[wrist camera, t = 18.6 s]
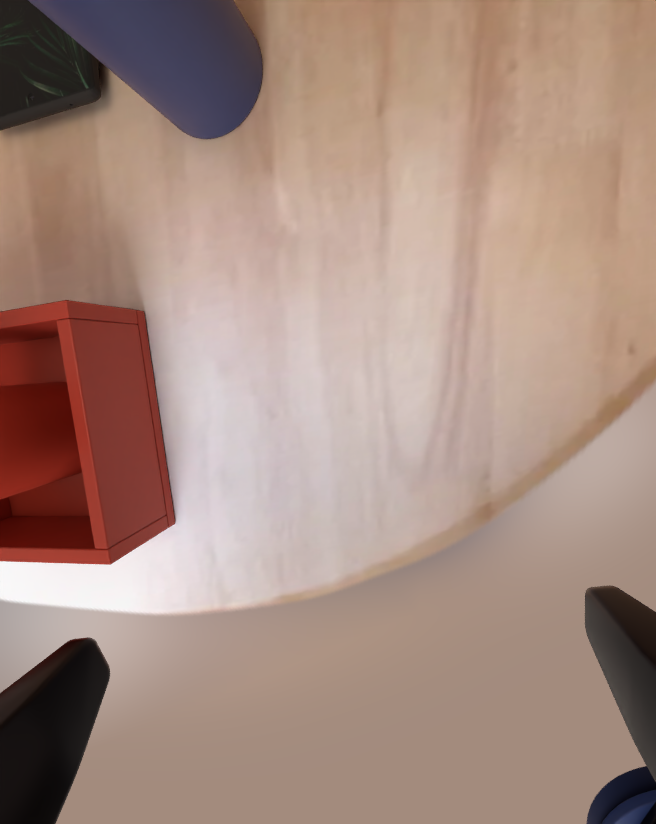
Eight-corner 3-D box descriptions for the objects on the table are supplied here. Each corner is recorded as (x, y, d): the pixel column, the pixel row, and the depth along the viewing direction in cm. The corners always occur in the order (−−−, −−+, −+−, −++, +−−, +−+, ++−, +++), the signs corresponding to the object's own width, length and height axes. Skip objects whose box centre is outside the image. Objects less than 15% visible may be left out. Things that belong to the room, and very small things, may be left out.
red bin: (175, 523, 22) (110, 565, 18) (15, 523, 25) (-75, 559, 21) (144, 310, 21) (66, 299, 17) (-20, 337, 24) (-123, 333, 20)
